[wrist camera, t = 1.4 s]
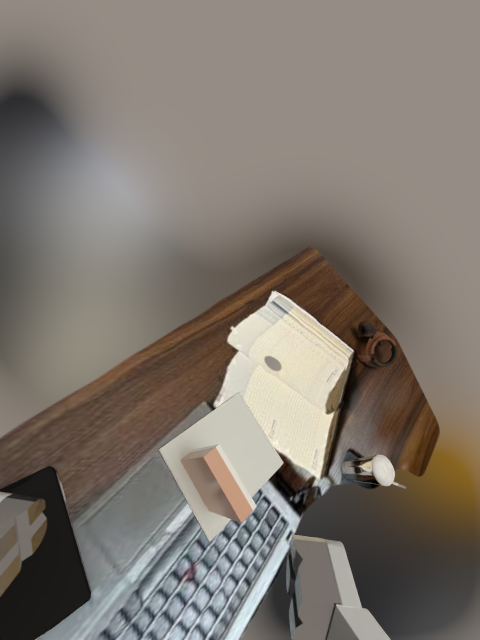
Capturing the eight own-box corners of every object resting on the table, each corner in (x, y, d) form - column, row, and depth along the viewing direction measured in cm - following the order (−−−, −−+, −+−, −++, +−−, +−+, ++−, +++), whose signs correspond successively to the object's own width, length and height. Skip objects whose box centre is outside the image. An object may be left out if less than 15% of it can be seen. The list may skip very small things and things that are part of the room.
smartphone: (1, 667, 26) (-33, 505, 29) (4, 659, 26) (-29, 503, 30) (94, 596, 30) (55, 463, 33) (94, 592, 31) (56, 463, 34)
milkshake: (351, 494, 50) (400, 498, 42) (334, 467, 50) (378, 466, 43) (363, 476, 52) (410, 477, 44) (346, 451, 53) (390, 448, 45)
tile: (208, 511, 38) (241, 522, 30) (180, 460, 40) (203, 457, 31) (221, 498, 40) (256, 506, 31) (193, 449, 41) (219, 443, 32)
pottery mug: (383, 352, 73) (408, 356, 65) (356, 371, 71) (378, 378, 63) (362, 314, 71) (385, 313, 63) (335, 332, 70) (355, 334, 62)
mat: (208, 541, 37) (209, 541, 37) (158, 449, 40) (159, 449, 39) (282, 463, 47) (283, 463, 46) (238, 392, 49) (239, 392, 49)
